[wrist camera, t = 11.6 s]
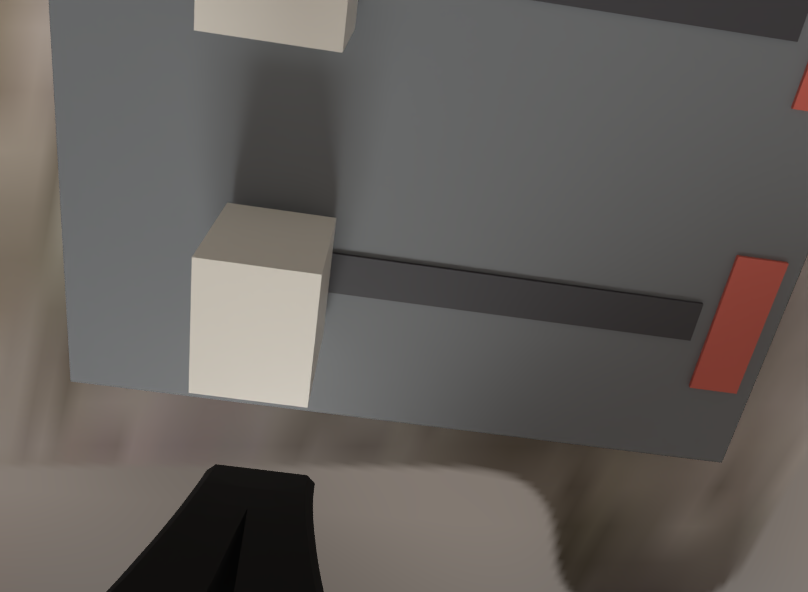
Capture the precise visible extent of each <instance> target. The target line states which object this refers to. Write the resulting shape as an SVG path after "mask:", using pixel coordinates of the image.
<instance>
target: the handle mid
mask: <svg viewBox="0 0 808 592" xmlns="http://www.w3.org/2000/svg"><path fill="white" fill-rule="evenodd" d="M357 5H358V0H195V1H194V30H195V31H202V32H208V33H215V34H221V35H228V36H235V37H241V38H248V39H254V40H261V41H268V42H274V43H281V44H287V45H294V46H301V47H307V48H314V49H321V50H327V51H334V52H340V53H343V51H344V49H345V47H346V45H347V43H348V41H349V39H350V37H351V35H352V33H353V31H354V30H355V23H356V14H357Z"/></svg>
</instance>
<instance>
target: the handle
mask: <svg viewBox="0 0 808 592" xmlns="http://www.w3.org/2000/svg"><path fill="white" fill-rule="evenodd" d="M335 225H336V218H334V217H327V216H319V215H312V214H305V213H298V212H291V211H283V210H276V209H269V208H262V207H255V206H248V205H240V204H233V203H227V204H226V205H225V207H224V208H223V210H222V211H221V213H220V215H219V216H218V218H217V219H216V221H215V222H214V224H213V225H212V227H211V228H210V230H209V231H208V233H207V235H206V236H205V238H204V239H203V241H202V242H201V244H200V245H199V247H198V248H197V250H196V251H195V253H194V255H193V256H192V269H191V311H190V354H189V393H193V394H201V395H209V396H217V397H225V398H233V399H241V400H249V401H257V402H265V403H273V404H281V405H289V406H297V407H305V408H308V404H309V399H310V394H311V390H312V385H313V380H314V376H315V371H316V366H317V362H318V357H319V352H320V348H321V343H322V338H323V332H324V323H325V314H326V305H327V296H328V287H329V278H330V269H331V261H332V252H333V243H334V234H335Z"/></svg>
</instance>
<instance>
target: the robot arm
mask: <svg viewBox="0 0 808 592" xmlns="http://www.w3.org/2000/svg"><path fill="white" fill-rule="evenodd" d="M314 485H315V484H314V482H313V481H312V480H311V479H310V478H309V477H308V476H307V475H300V474H292V473H283V472H275V471H267V470H258V469H250V468H242V467H233V466H225V465H217V464H216V465H214V466H213V467H211V468H210V469H208V470H207V471H206V472H205V474H204V475H203V477H202V478H201V480H200V481H199V483H198V484H197V485H196V487H195V488H194V489H193V491H192V492H191V493H190V495H189V496H188V497H187V499H186V500H185V501H184V503H183V504H182V506H180V508H179V509H178V510H177V512H176V513H175V514H174V515H173V517H172V518H171V519H170V520H169V521H168V523H167V524H166V525H165V526H164V527H163V529H162V530H161V531H160V532H159V533H158V535H157V536H156V537H155V538H154V540H153V541H152V542H151V543H150V544H149V545H148V546H147V547H146V548H145V550H144V551H143V552H142V553H141V554H140V555H139V556H138V557H137V559H136V560H135V561H134V562H133V563H132V564H131V565H130V566H129V568H128V569H127V570H126V571H125V572H124V573H123V574H122V576H121V577H120V578H119V579H118V580H117V581H116V582H115V583H114V584H113V585H112V586H111V587H110V589H108V591H107V592H324V591H323V586H322V581H321V576H320V571H319V565H318V559H317V552H316V544H315V535H314V524H313V493H314Z"/></svg>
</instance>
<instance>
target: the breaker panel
mask: <svg viewBox="0 0 808 592" xmlns="http://www.w3.org/2000/svg"><path fill="white" fill-rule="evenodd" d="M194 1H195V0H49V14H50V32H51V49H52V66H53V84H54V101H55V118H56V136H57V153H58V170H59V188H60V205H61V222H62V240H63V257H64V274H65V291H66V309H67V326H68V343H69V361H70V378H71V381H73V382H81V383H89V384H97V385H105V386H113V387H121V388H129V389H137V390H145V391H153V392H161V393H169V394H177V395H185V396H193V397H201V398H209V399H217V400H225V401H233V402H241V403H249V404H257V405H265V406H273V407H281V408H289V409H297V410H305V411H313V412H321V413H329V414H337V415H345V416H353V417H361V418H369V419H377V420H385V421H393V422H401V423H409V424H417V425H425V426H433V427H441V428H449V429H457V430H465V431H473V432H481V433H489V434H497V435H505V436H513V437H521V438H529V439H537V440H545V441H553V442H561V443H569V444H577V445H585V446H593V447H601V448H609V449H617V450H625V451H633V452H641V453H649V454H657V455H665V456H673V457H681V458H689V459H697V460H705V461H713V462H721V463H722V461H723V458H724V456H725V454H726V451H727V449H728V446H729V444H730V441H731V439H732V437H733V434H734V432H735V429H736V427H737V424H738V422H739V420H740V417H741V415H742V412H743V410H744V407H745V405H746V403H747V400H748V398H749V395H750V393H751V391H752V388H753V386H754V383H755V381H756V378H757V376H758V374H759V371H760V369H761V366H762V364H763V361H764V359H765V357H766V354H767V352H768V349H769V347H770V344H771V342H772V340H773V337H774V335H775V332H776V330H777V328H778V325H779V323H780V320H781V318H782V315H783V313H784V311H785V308H786V306H787V303H788V301H789V298H790V296H791V294H792V291H793V289H794V286H795V284H796V281H797V279H798V277H799V274H800V272H801V269H802V267H803V265H804V262H805V260H806V257H807V255H808V0H358V5H357V14H356V23H355V30H354V31H353V33H352V35H351V37H350V39H349V41H348V43H347V45H346V47H345V49H344V51H343V53H340V52H334V51H327V50H321V49H314V48H307V47H301V46H294V45H287V44H281V43H274V42H268V41H261V40H254V39H248V38H241V37H235V36H228V35H221V34H215V33H208V32H202V31H195V30H194ZM227 203H233V204H240V205H248V206H255V207H262V208H269V209H276V210H283V211H291V212H298V213H305V214H312V215H319V216H327V217H334V218H336V225H335V234H334V243H333V252H332V261H331V269H330V278H329V287H328V296H327V305H326V314H325V323H324V332H323V338H322V343H321V348H320V352H319V357H318V362H317V366H316V371H315V376H314V380H313V385H312V390H311V394H310V399H309V404H308V408H305V407H297V406H289V405H281V404H273V403H265V402H257V401H249V400H241V399H233V398H225V397H217V396H209V395H201V394H193V393H189V354H190V311H191V269H192V256H193V255H194V253H195V251H196V250H197V248H198V247H199V245H200V244H201V242H202V241H203V239H204V238H205V236H206V235H207V233H208V231H209V230H210V228H211V227H212V225H213V224H214V222H215V221H216V219H217V218H218V216H219V215H220V213H221V211H222V210H223V208H224V207H225V205H226V204H227Z"/></svg>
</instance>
